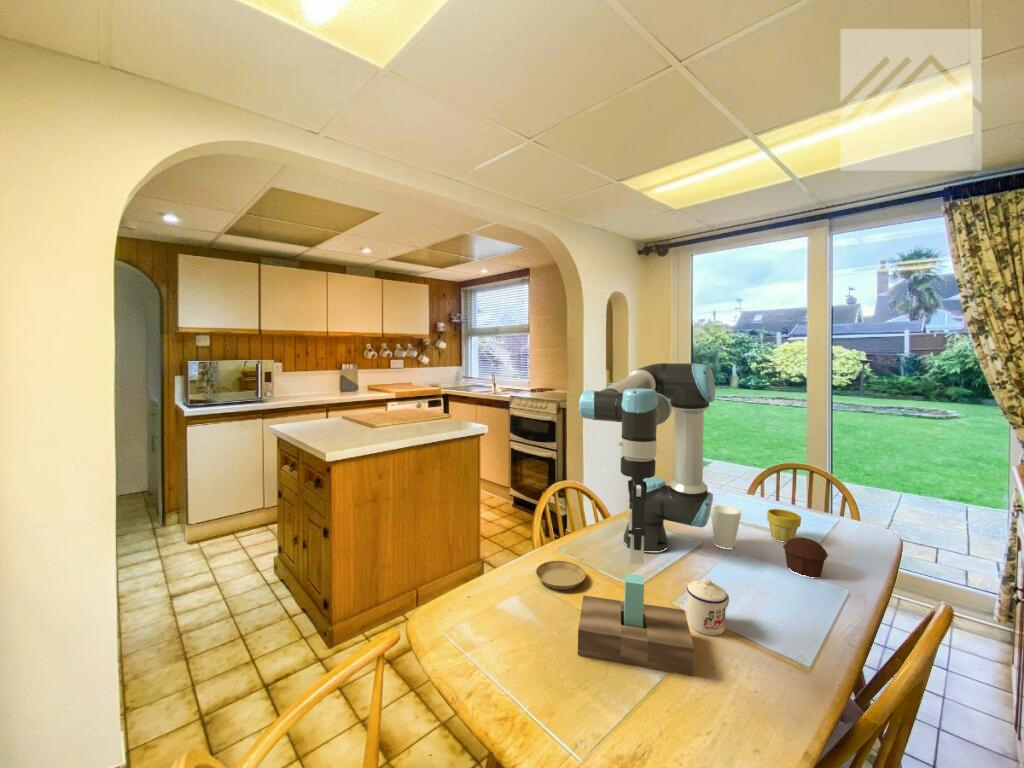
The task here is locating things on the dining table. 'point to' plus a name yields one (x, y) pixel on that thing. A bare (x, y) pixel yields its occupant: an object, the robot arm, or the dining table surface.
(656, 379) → the robot arm
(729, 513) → the foam cup
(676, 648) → the hole board
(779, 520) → the plant pot
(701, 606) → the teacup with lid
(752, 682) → the dining table surface
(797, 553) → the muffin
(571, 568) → the plant saucer
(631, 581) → the peg
